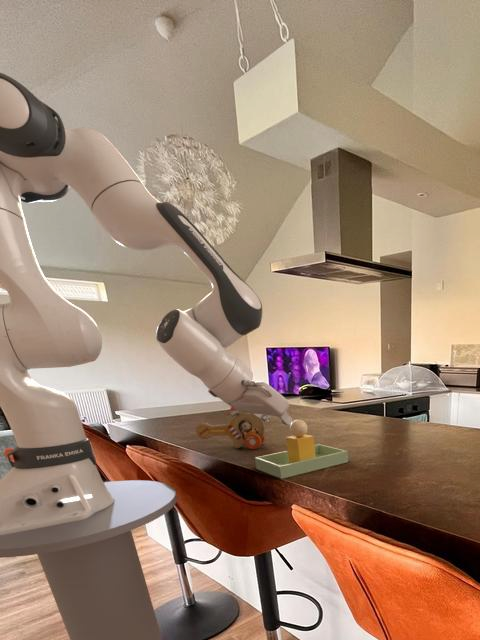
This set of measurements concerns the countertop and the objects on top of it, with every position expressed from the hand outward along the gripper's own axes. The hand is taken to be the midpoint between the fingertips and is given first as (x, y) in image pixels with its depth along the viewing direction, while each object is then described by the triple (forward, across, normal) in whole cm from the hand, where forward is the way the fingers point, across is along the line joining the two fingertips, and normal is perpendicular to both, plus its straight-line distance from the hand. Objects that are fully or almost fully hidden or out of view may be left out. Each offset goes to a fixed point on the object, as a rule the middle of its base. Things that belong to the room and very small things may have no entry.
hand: (278, 421), depth 100 cm
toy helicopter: (+12, +37, +4) cm, 39 cm away
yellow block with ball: (+13, +2, +4) cm, 14 cm away
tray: (+13, +2, +4) cm, 14 cm away
